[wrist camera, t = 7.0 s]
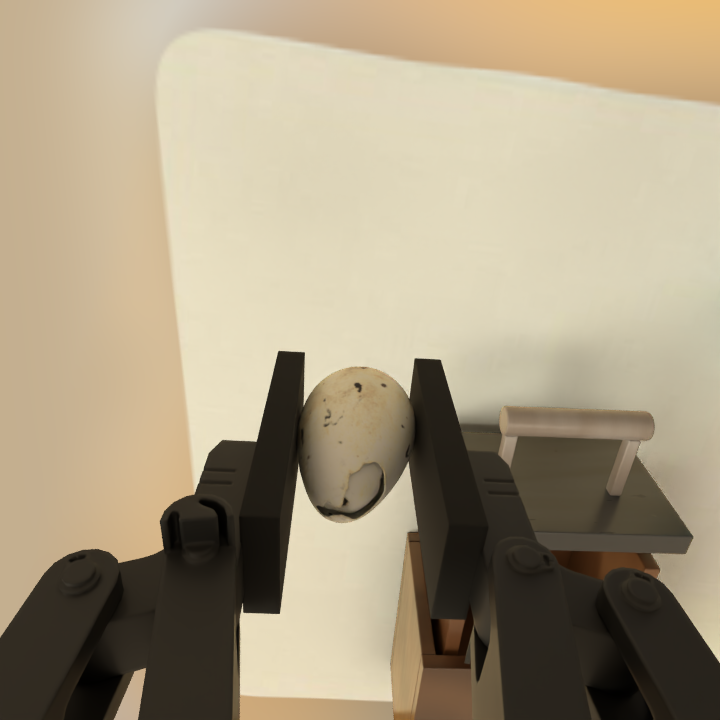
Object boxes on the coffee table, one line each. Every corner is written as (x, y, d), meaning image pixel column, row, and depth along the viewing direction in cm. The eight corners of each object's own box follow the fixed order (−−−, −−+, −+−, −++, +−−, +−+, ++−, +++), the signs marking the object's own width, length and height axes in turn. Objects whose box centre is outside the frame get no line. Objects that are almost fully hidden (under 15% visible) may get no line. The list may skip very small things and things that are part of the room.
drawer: (444, 357, 31) (470, 445, 24) (649, 365, 31) (733, 454, 24) (411, 586, 39) (423, 698, 33) (570, 590, 40) (616, 702, 33)
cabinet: (407, 532, 38) (423, 668, 30) (589, 537, 39) (655, 673, 30) (390, 663, 45) (399, 803, 37) (544, 666, 46) (588, 806, 37)
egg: (402, 435, 18) (421, 560, 13) (302, 431, 18) (288, 555, 13) (414, 347, 16) (439, 455, 12) (303, 341, 16) (288, 449, 12)
